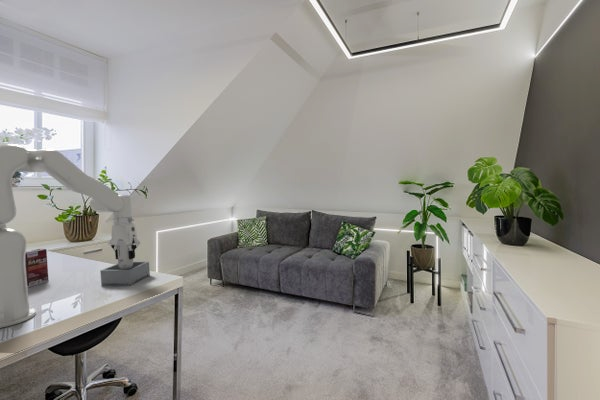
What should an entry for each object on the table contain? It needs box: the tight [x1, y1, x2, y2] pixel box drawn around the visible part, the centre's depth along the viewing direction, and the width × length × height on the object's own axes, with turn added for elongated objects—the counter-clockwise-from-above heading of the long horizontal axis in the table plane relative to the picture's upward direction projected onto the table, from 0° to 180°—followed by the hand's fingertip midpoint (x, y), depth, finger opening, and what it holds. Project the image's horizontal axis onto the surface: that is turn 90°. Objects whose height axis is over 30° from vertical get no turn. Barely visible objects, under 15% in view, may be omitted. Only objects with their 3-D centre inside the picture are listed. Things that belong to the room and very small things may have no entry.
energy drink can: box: [117, 239, 134, 269], centre depth 132 cm, size 6×6×15 cm
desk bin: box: [100, 261, 151, 287], centre depth 132 cm, size 14×14×7 cm
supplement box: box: [25, 248, 49, 288], centre depth 130 cm, size 9×5×16 cm, turn 168°
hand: (125, 258), depth 132 cm, fingers closed on energy drink can, 6 cm apart
